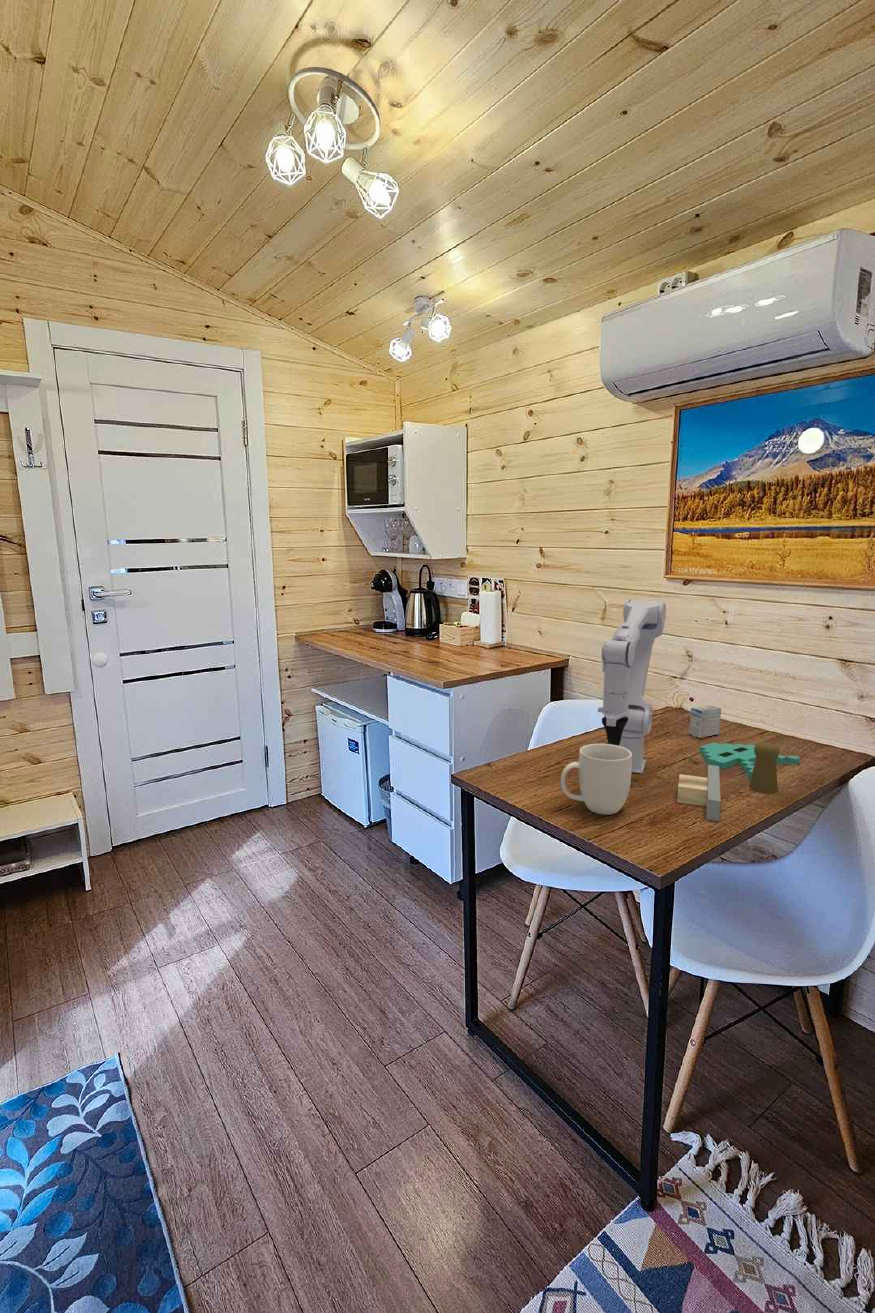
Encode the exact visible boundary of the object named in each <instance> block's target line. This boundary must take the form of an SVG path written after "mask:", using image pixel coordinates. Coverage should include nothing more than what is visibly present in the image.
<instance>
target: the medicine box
mask: <svg viewBox="0 0 875 1313" xmlns="http://www.w3.org/2000/svg"><path fill="white" fill-rule="evenodd" d="M690 708H691V709H690V719H689V732H688V735H689V734H691V735H693V736H698V737H704V736H711V735H715V734H718V733H719V734H720V729H721V728H720V727H721V716H722V708H721V707H718V706H715V705H711V704H707V705H701V706H699V705H698V706H695V707H690ZM693 736H692V737H693Z"/></svg>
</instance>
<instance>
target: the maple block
mask: <svg viewBox="0 0 875 1313" xmlns="http://www.w3.org/2000/svg"><path fill="white" fill-rule="evenodd" d="M707 793H708V778H707V777H705V776H704V777H703V776H697V775H696V776H695V775H689V774H682V773H681V774H679V778H678V787H677V800H676V801H677V802H676V803H679V804H686V805H692V806H698V807H699V806H700V807H707Z"/></svg>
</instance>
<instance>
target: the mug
mask: <svg viewBox="0 0 875 1313" xmlns="http://www.w3.org/2000/svg"><path fill="white" fill-rule="evenodd" d="M578 754H579V757H578V761H573V762H570V763H568V764H567V765H566V766H565V767H564V768H563V769H562V772H561V776H560V787H561V790H562V791H563V793H564V794H565V796H567V797H568V798H569V799H571V800H574V801H579V802H583V803H584V804H585V806H586V807H587V809H588V810H589V811H590V812H592V813H595V814H598V815H605V816H609V815H613V814H614V815H615V814H616V813H619V811H620V810H621V809H622V808H623V806H624V805H625V803H626V801H627V798H628V795H629V793H630V787H631V780H632V779H631V778H632V772H631V771H632V770H631V769H632V753H631V752H630V751H629V750H628V749H626V748H624V747H621V746H617V745H611V744H608V743H591V744H586V745H583V746H581V747H580V748H579V753H578ZM572 769H578V783H579V784H578V786H579V789H580V794H579V795H578V794H577V795H576V794H574V793H571V792H570V791H569V790H568V788H567V786H566V777H567V774H568V772H569V771H570V770H572Z"/></svg>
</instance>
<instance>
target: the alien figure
mask: <svg viewBox="0 0 875 1313" xmlns="http://www.w3.org/2000/svg"><path fill="white" fill-rule="evenodd" d="M755 745H756V744H747V745H745V744H741V743H736V744H731V743H727V742H725V743H722V744H721V743H719V742H712V743H708V744H704V745H701V746H699V751H698V752H699V754H701V753H702V754H701V757H702V758H703V759H704V760H705V761H704V760H703V761H704V762H706V765H707V766H708V765H713V766H719V770H722V771H723V770H725V769H729V768H731V767H730V766H732V767H734V765H735V766H737V764H740V765H739V766H740V769H741V770H743V769H744V771H743V774H745V773H746V774H745V775H747V778H748V779H750V780H751V776H752V772H753V768H754V764H755V760H756V755H755V753H754V748H755ZM800 761H801V758H800V757H799V756H796V755H788V756H784V755H782V754H779V756H778V757H777V758H776V763H779V764H778V765H780V764H783V765H785V764H784V763H785V762H788V763H791V764H794V765H795V764H798V763H799V762H800ZM799 764H800V763H799ZM799 764H798V765H799ZM794 765H793V766H794ZM728 767H729V768H728Z"/></svg>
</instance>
